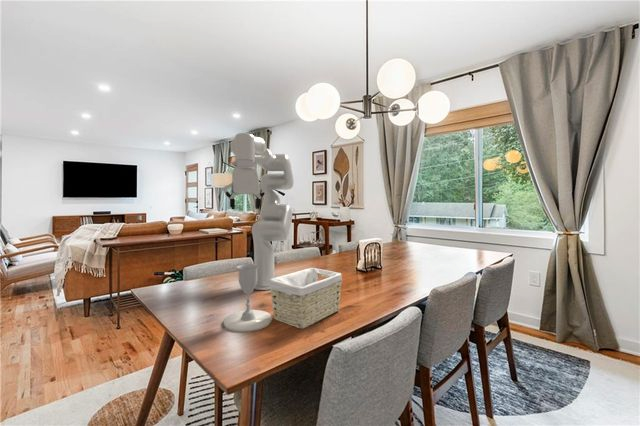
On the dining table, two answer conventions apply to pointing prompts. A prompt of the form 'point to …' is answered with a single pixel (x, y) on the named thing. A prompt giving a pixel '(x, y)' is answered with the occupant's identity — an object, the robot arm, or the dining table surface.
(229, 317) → the plate
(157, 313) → the dining table surface
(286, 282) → the storage basket
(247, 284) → the chalice
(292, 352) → the dining table surface
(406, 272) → the dining table surface
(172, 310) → the dining table surface
